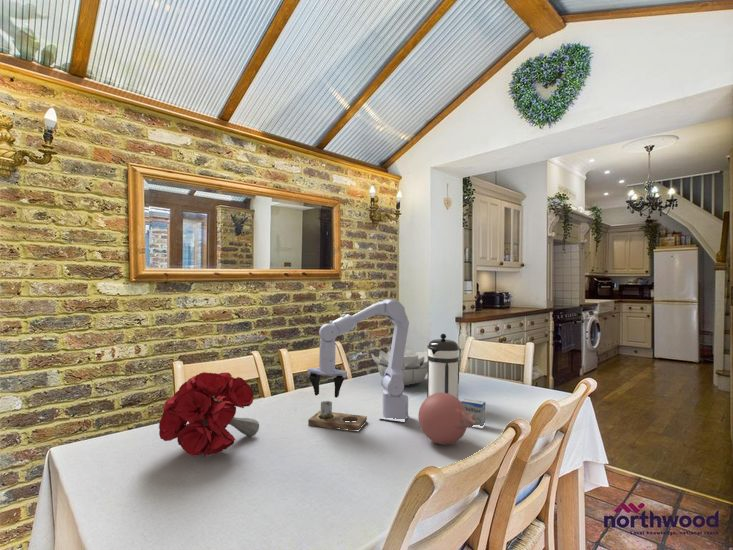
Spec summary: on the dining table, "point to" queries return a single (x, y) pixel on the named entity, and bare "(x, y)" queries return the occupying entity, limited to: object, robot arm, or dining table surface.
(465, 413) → the balloon
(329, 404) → the bushing
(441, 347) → the coffee press
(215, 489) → the dining table surface
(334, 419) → the jig plate
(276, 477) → the dining table surface
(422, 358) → the decorative bowl
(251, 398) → the bouquet
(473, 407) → the medicine box
